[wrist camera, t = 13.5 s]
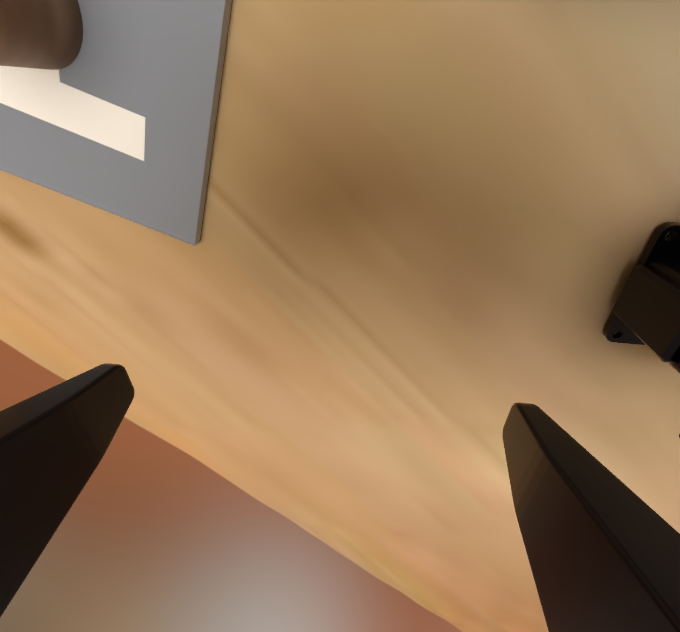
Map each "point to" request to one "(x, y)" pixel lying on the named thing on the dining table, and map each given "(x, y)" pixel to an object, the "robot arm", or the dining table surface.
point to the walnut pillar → (40, 33)
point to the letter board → (125, 112)
